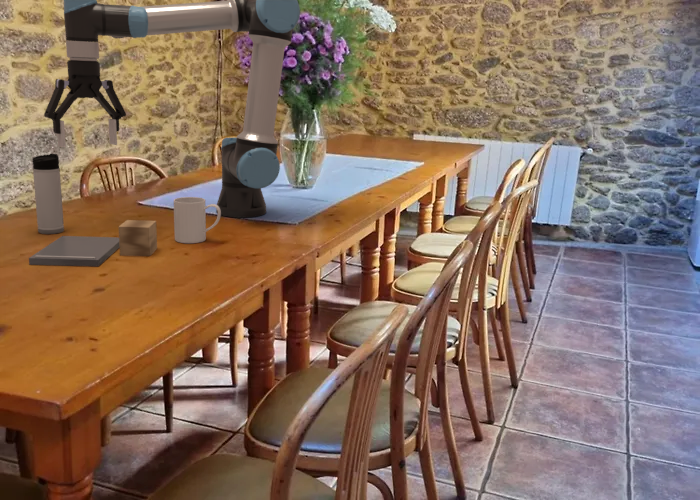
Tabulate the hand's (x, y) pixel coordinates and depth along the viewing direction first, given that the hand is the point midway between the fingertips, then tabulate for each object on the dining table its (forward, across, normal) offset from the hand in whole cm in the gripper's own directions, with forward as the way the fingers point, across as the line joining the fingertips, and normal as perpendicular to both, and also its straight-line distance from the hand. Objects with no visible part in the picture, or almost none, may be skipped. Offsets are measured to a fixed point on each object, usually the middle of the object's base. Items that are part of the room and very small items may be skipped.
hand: (88, 145), depth 175 cm
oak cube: (+23, 0, +25) cm, 34 cm away
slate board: (+23, +12, +18) cm, 31 cm away
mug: (+23, -17, +24) cm, 37 cm away
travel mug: (+23, +8, -6) cm, 25 cm away
